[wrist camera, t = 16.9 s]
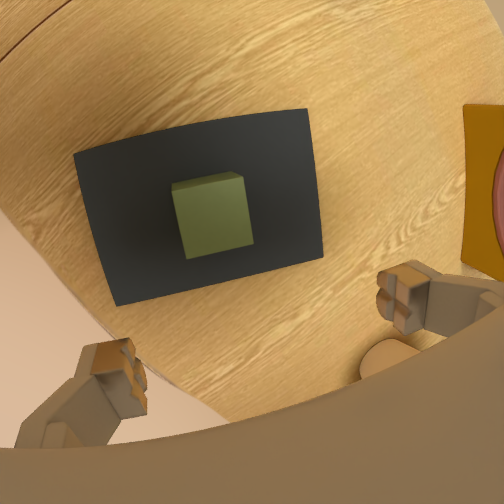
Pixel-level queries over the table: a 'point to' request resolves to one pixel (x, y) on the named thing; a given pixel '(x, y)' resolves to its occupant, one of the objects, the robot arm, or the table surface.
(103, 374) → the robot arm
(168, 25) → the table surface
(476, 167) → the alarm clock
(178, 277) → the mat
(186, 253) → the green block
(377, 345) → the cup
